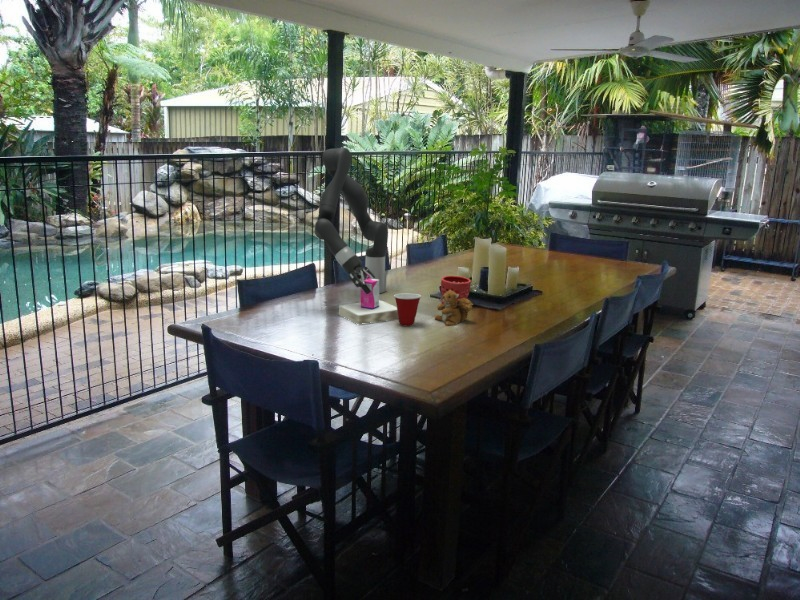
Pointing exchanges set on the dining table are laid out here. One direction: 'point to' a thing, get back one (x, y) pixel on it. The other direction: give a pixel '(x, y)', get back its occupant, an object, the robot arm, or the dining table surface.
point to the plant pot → (455, 286)
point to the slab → (368, 313)
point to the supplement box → (370, 294)
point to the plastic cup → (407, 307)
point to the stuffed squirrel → (453, 308)
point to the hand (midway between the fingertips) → (373, 290)
